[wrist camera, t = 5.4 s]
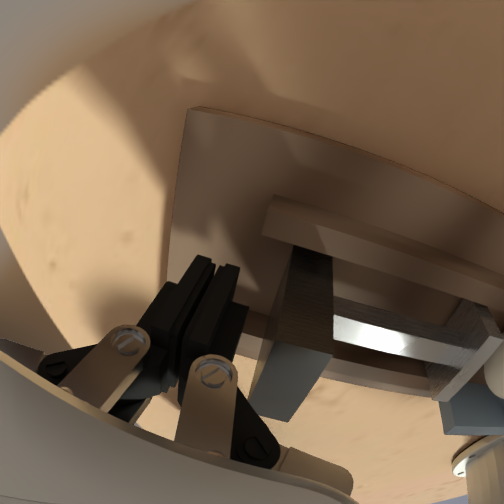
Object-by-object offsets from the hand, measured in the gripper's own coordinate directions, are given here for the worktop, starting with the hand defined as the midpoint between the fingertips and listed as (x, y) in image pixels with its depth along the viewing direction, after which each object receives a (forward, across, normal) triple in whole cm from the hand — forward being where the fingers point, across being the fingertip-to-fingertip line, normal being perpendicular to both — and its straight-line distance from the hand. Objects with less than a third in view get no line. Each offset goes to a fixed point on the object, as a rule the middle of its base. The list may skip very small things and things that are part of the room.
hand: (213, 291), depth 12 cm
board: (+4, -8, 0) cm, 9 cm away
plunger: (+2, -7, 0) cm, 7 cm away
